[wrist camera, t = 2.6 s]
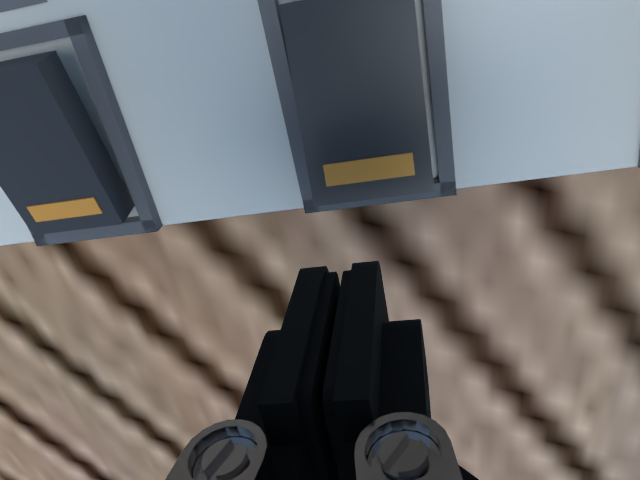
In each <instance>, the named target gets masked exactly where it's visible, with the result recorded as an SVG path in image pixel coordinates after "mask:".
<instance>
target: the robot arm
mask: <svg viewBox="0 0 640 480" xmlns="http://www.w3.org/2000/svg"><path fill="white" fill-rule="evenodd" d="M165 480H479V479H477V478H476V477H474V476H473V475H472V474H470V473H469V472H468V471H466V470H465V469H463V468H462V467H461V466H459V465H458V463H457V459H456V456H455V453H454V450H453V446H452V443H451V440H450V438H449V437H448V435H447V433H446V431H445V429H444V428H442V427H441V426H440V425H439V424H438V423H437V422H436V421H435V420H433V419H431V411H430V398H429V386H428V375H427V365H426V356H425V348H424V340H423V332H422V325H421V319H416V320H403V321H390V322H389V319H388V313H387V306H386V300H385V294H384V288H383V281H382V275H381V269H380V264H379V261H372V262H362V263H353V264H352V269H351V270H350V271H343V275H342V281H341V287H340V283H339V278H338V274H337V272H329V271H328V269H327V267H326V266H322V267H313V268H303V269H300V271H299V274H298V277H297V280H296V283H295V286H294V289H293V293H292V296H291V299H290V302H289V305H288V309H287V312H286V315H285V318H284V321H283V324H282V328H281V330H274V331H268V332H267V333H266V334H265V336H264V339H263V341H262V344H261V347H260V350H259V353H258V356H257V358H256V361H255V364H254V367H253V370H252V373H251V375H250V378H249V381H248V384H247V387H246V390H245V392H244V395H243V398H242V401H241V404H240V407H239V409H238V412H237V415H236V418H235V420H226V421H222V422H219V423H215V424H213V425H211V426H209V427H208V428H206V429H204V430H202V431H201V432H200V433H198V434H197V435H196V436H195V437H194V438H192V439H191V441H190V442H189V443H188V444H187V446H186V447H185V448H184V449H183V451H182V453H181V454H180V456H179V458H178V459H177V461H176V463H175V464H174V466H173V468H172V469H171V471H170V473H169V474H168V476H167V478H166V479H165Z"/></svg>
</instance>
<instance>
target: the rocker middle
mask: <svg viewBox="0 0 640 480" xmlns="http://www.w3.org/2000/svg"><path fill="white" fill-rule="evenodd" d="M279 9H280V15H281V21H282V26H283V32H284V38H285V43H286V49H287V55H288V61H289V66H290V72H291V78H292V84H293V89H294V95H295V101H296V107H297V112H298V118H299V124H300V129H301V135H302V141H303V147H304V152H305V158H306V164H307V170H308V175H309V181H310V187H311V192H312V198H313V204H314V207H315V206H323V205H331V204H339V203H347V202H355V201H363V200H371V199H379V198H387V197H396V196H404V195H412V194H420V193H428V192H434V184H433V174H432V165H431V155H430V145H429V136H428V126H427V116H426V107H425V97H424V87H423V78H422V68H421V58H420V49H419V39H418V29H417V20H416V10H415V0H299V1H294V2H289V3H284V4H279Z"/></svg>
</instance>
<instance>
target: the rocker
mask: <svg viewBox="0 0 640 480" xmlns="http://www.w3.org/2000/svg"><path fill="white" fill-rule="evenodd" d="M0 187H1V188H2V190H3V191H4V193H5V194H6V195H7V197H8V198H9V200H10V201H11V203H12V204H13V206H14V207H15V209H16V210H17V212H18V213H19V215H20V216H21V218H22V219H23V220H24V222H25V223H26V225H27V226H28V228H29V229H30V231H31V232H32V234H33V235H41V234H49V233H57V232H65V231H72V230H80V229H88V228H96V227H104V226H112V225H120V224H123V223H124V222H125V220H126V219H127V217H128V216H129V214H130V212H131V211H132V209H133V208H134V206H135V205H134V203H133V201H132V199H131V197H130V195H129V193H128V191H127V189H126V187H125V185H124V183H123V181H122V179H121V177H120V175H119V173H118V171H117V169H116V167H115V165H114V163H113V162H112V160H111V158H110V156H109V154H108V152H107V150H106V148H105V146H104V144H103V142H102V140H101V138H100V136H99V134H98V132H97V130H96V128H95V126H94V124H93V122H92V121H91V119H90V117H89V115H88V113H87V111H86V109H85V107H84V105H83V103H82V101H81V99H80V97H79V95H78V93H77V91H76V89H75V87H74V85H73V83H72V81H71V79H70V78H69V76H68V74H67V72H66V70H65V68H64V66H63V64H62V62H61V60H60V58H59V56H58V54H57V52H56V50H55V51H50V52H45V53H40V54H35V55H30V56H25V57H21V58H16V59H11V60H6V61H1V62H0Z"/></svg>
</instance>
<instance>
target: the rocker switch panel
mask: <svg viewBox="0 0 640 480" xmlns="http://www.w3.org/2000/svg"><path fill="white" fill-rule="evenodd" d="M294 1H299V0H0V62H1V61H6V60H11V59H16V58H21V57H25V56H30V55H35V54H40V53H45V52H50V51H55V50H56V52H57V54H58V56H59V58H60V60H61V62H62V64H63V66H64V68H65V70H66V72H67V74H68V76H69V78H70V79H71V81H72V83H73V85H74V87H75V89H76V91H77V93H78V95H79V97H80V99H81V101H82V103H83V105H84V107H85V109H86V111H87V113H88V115H89V117H90V119H91V121H92V122H93V124H94V126H95V128H96V130H97V132H98V134H99V136H100V138H101V140H102V142H103V144H104V146H105V148H106V150H107V152H108V154H109V156H110V158H111V160H112V162H113V163H114V165H115V167H116V169H117V171H118V173H119V175H120V177H121V179H122V181H123V183H124V185H125V187H126V189H127V191H128V193H129V195H130V197H131V199H132V201H133V203H134V205H135V206H134V208H133V209H132V211H131V212H130V214H129V216H128V217H127V219H126V220H125V222H124V223H123V224H120V225H112V226H104V227H96V228H88V229H80V230H72V231H65V232H57V233H49V234H41V235H33V234H32V232H31V231H30V229H29V228H28V226H27V225H26V223H25V222H24V220H23V219H22V218H21V216H20V215H19V213H18V212H17V210H16V209H15V207H14V206H13V204H12V203H11V201H10V200H9V198H8V197H7V195H6V194H5V193H4V191H3V190H2V188H1V187H0V245H8V244H16V243H24V242H32V241H35V243H36V245H37V246H42V245H50V244H58V243H66V242H75V241H83V240H91V239H99V238H107V237H116V236H124V235H132V234H140V233H148V232H157V231H158V230H159V229H160V228H161V227H162V226H163V225H169V224H177V223H185V222H193V221H201V220H209V219H217V218H225V217H233V216H242V215H250V214H258V213H266V212H274V211H282V210H290V209H298V208H304V210H305V213H312V212H320V211H329V210H337V209H345V208H353V207H361V206H370V205H378V204H386V203H394V202H402V201H411V200H419V199H427V198H435V197H443V196H452V195H457V194H456V189H459V188H467V187H475V186H483V185H491V184H499V183H507V182H515V181H523V180H531V179H539V178H547V177H555V176H563V175H571V174H579V173H587V172H595V171H604V170H612V169H620V168H628V167H636V166H638V167H639V168H640V0H415V10H416V20H417V29H418V39H419V49H420V58H421V68H422V78H423V87H424V97H425V107H426V116H427V126H428V136H429V145H430V155H431V165H432V174H433V184H434V192H428V193H420V194H412V195H404V196H396V197H387V198H379V199H371V200H363V201H355V202H347V203H339V204H331V205H323V206H315V207H314V204H313V198H312V192H311V187H310V181H309V175H308V170H307V164H306V158H305V152H304V147H303V141H302V135H301V129H300V124H299V118H298V112H297V107H296V101H295V95H294V89H293V84H292V78H291V72H290V66H289V61H288V55H287V49H286V43H285V38H284V32H283V26H282V21H281V15H280V9H279V4H284V3H289V2H294Z"/></svg>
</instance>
